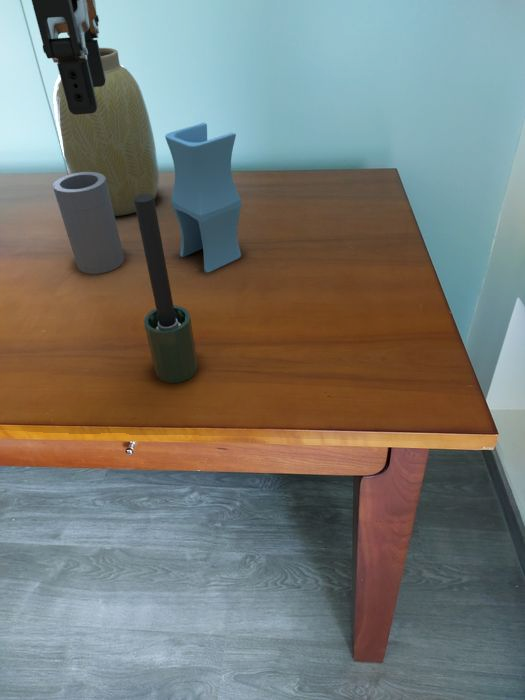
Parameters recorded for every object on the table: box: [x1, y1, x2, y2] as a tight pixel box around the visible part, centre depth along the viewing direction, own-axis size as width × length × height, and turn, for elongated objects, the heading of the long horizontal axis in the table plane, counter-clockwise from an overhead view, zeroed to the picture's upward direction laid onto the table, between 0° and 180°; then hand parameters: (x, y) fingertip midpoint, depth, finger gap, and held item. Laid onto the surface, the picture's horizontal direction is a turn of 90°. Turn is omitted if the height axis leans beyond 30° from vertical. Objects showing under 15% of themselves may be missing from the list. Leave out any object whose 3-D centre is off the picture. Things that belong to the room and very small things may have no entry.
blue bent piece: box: [164, 122, 242, 274], centre depth 83 cm, size 8×8×20 cm
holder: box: [143, 305, 199, 384], centre depth 65 cm, size 5×5×8 cm
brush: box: [134, 194, 181, 330], centre depth 60 cm, size 3×3×22 cm
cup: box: [52, 172, 125, 275], centre depth 85 cm, size 8×8×14 cm
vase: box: [53, 47, 161, 217], centre depth 99 cm, size 17×17×27 cm
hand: (90, 98), depth 46 cm, fingers open, 8 cm apart
